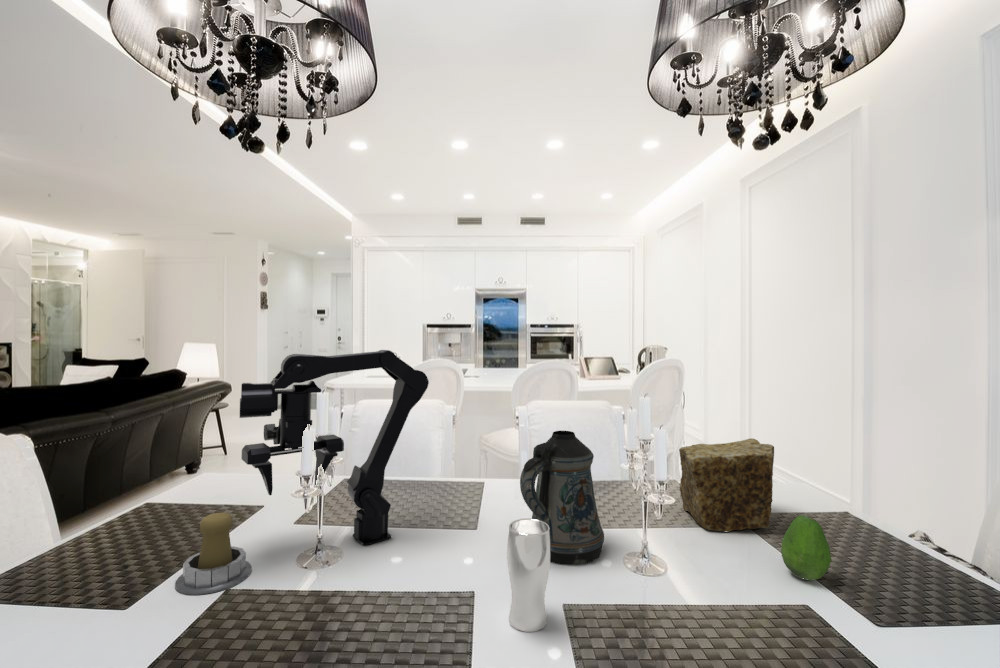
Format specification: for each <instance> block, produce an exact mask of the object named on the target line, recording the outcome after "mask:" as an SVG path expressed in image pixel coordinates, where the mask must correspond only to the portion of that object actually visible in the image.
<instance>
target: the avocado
mask: <svg viewBox="0 0 1000 668" xmlns="http://www.w3.org/2000/svg"><path fill="white" fill-rule="evenodd" d="M780 553H781V557H782V562H783V564H784V566H785V567H786V568H787V569H788V570H789V571H790V572H791V573H792V574H793V575H794V576H795V575H796V576H795V577H797V576H798V577H797V578H799V577H800V578H799V579H801V578H804V579H808V580H807V581H810V580H811V581H815V580H819V579H821V578H823V576H825V575H826V573H827V572H828V571H829V568H830V565H831V563H832V554H831V548H830V546H829V542H828V539H827V538H826V535H825V532H824V530H823V528H822V525H820V522H819V521H816V520H815V519H814V518H812V517H810V516H809V515H804V514H803V515H797V516H796V517H795V518H794V519H793V520H792V521H791V523H790V525H789V526H788V528H787V529H786V531H785V532H784V536H783V538H782V539H781V548H780ZM804 579H803V580H804Z"/></svg>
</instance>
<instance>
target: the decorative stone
mask: <svg viewBox="0 0 1000 668" xmlns="http://www.w3.org/2000/svg"><path fill="white" fill-rule="evenodd" d="M679 458H680V465H681V469H680V470H681V477H680V484H679V485H680V486H679V491H680V497H681V500H682V508H683V510H684V511H685V512H686V511H688V512H687V513H690V514H691V516H692V518H693V519H694V520H695V521H696V522H697V524H698V525H699V526H700V527H702V528H703V529H705V530H707V529H708V530H707V531H718V532H721V531H728V532H731V531H733V530H735V531H737V530H738V531H740V530H741V531H742V530H744V529H750V530H753V529H759V528H765V529H767V528H769V527H770V518H771V517H772V503H773V501H774V500H773V474H774V472H773V471H774V458H775V446H774V445H773V444H770V443H760V441H759V440H757V439H755V438H747V439H742V440H737V441H733V442H725V443H714V444H713V443H712V444H709V443H708V444H706V443H697V444H692V445H689V446H687V445H686V446H681V447H680V448H679Z"/></svg>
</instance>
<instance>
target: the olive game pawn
mask: <svg viewBox="0 0 1000 668" xmlns="http://www.w3.org/2000/svg"><path fill="white" fill-rule="evenodd" d="M233 521H234V520H233V517H232V515H231V514H230V513H227V512H216V513H211V514H207V515H206V516H205V517H203V518H202V520H201V521H200V522H199V523H200V524H199V532H200V534H201V535H202V540H201V546H200V556H199V562H198V568H197V569H210V568H216V567H219V566H223V565H227V564H229V563H231V562H232V561H233V559H232V552H231V546H232V544H231V537H230V530H231V529H232V527H233Z"/></svg>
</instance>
